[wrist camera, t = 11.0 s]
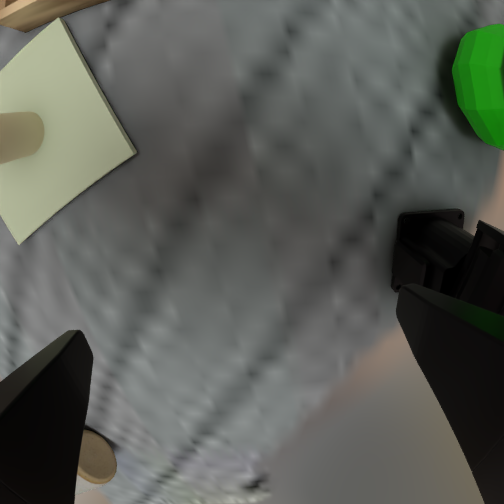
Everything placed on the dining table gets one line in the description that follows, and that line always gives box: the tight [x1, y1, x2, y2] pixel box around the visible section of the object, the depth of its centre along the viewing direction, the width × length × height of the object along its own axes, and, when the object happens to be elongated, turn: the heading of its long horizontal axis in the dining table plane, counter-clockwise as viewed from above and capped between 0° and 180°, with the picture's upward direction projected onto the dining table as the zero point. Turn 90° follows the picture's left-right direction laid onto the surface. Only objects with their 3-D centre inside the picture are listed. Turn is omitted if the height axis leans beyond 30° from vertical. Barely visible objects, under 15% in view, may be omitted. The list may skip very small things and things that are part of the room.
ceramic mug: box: [75, 430, 117, 495], centre depth 26 cm, size 11×8×8 cm
